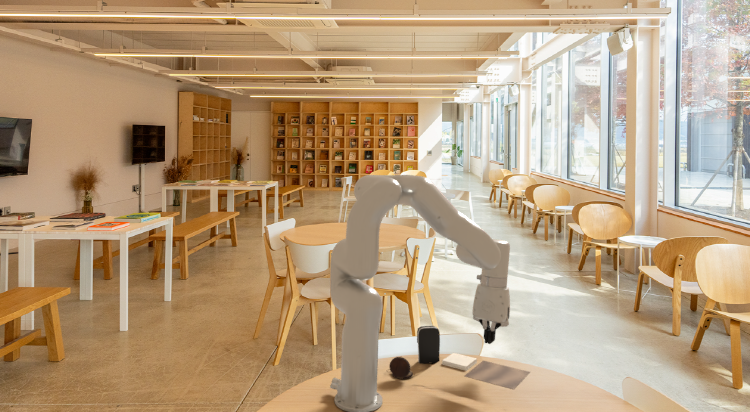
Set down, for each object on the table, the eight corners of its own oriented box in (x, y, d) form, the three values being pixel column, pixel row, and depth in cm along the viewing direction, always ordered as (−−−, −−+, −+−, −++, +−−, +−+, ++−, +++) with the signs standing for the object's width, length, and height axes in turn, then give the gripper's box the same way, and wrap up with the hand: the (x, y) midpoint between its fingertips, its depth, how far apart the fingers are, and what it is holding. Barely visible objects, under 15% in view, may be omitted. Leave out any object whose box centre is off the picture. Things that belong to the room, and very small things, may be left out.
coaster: (441, 368, 167) (442, 360, 167) (453, 360, 174) (453, 352, 174) (465, 374, 163) (466, 366, 163) (476, 366, 170) (476, 358, 169)
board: (463, 381, 159) (463, 376, 159) (483, 365, 172) (483, 360, 172) (513, 394, 151) (514, 389, 151) (530, 376, 164) (530, 372, 163)
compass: (414, 373, 164) (415, 349, 164) (408, 383, 157) (409, 359, 156) (389, 369, 166) (389, 346, 166) (382, 379, 159) (383, 355, 158)
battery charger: (437, 359, 175) (437, 324, 174) (440, 363, 171) (440, 327, 170) (416, 360, 174) (415, 325, 173) (418, 364, 170) (418, 328, 169)
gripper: (465, 279, 161) (460, 339, 162) (514, 288, 153) (509, 351, 154) (475, 275, 167) (470, 333, 168) (522, 284, 159) (517, 345, 160)
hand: (488, 342), depth 161 cm, fingers closed
